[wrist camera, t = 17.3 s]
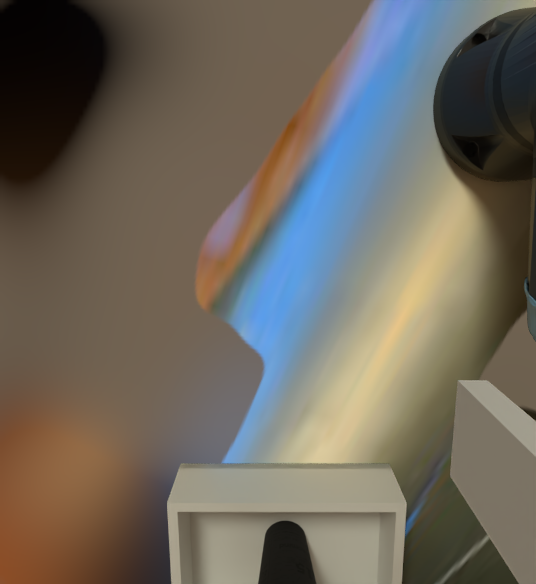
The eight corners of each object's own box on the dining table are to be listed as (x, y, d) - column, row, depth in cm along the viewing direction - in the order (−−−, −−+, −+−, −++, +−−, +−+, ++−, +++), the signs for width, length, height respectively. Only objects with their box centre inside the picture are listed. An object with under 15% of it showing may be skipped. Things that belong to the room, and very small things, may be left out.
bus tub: (389, 463, 53) (406, 503, 46) (382, 596, 56) (397, 651, 49) (180, 463, 53) (167, 503, 46) (187, 595, 56) (175, 650, 50)
